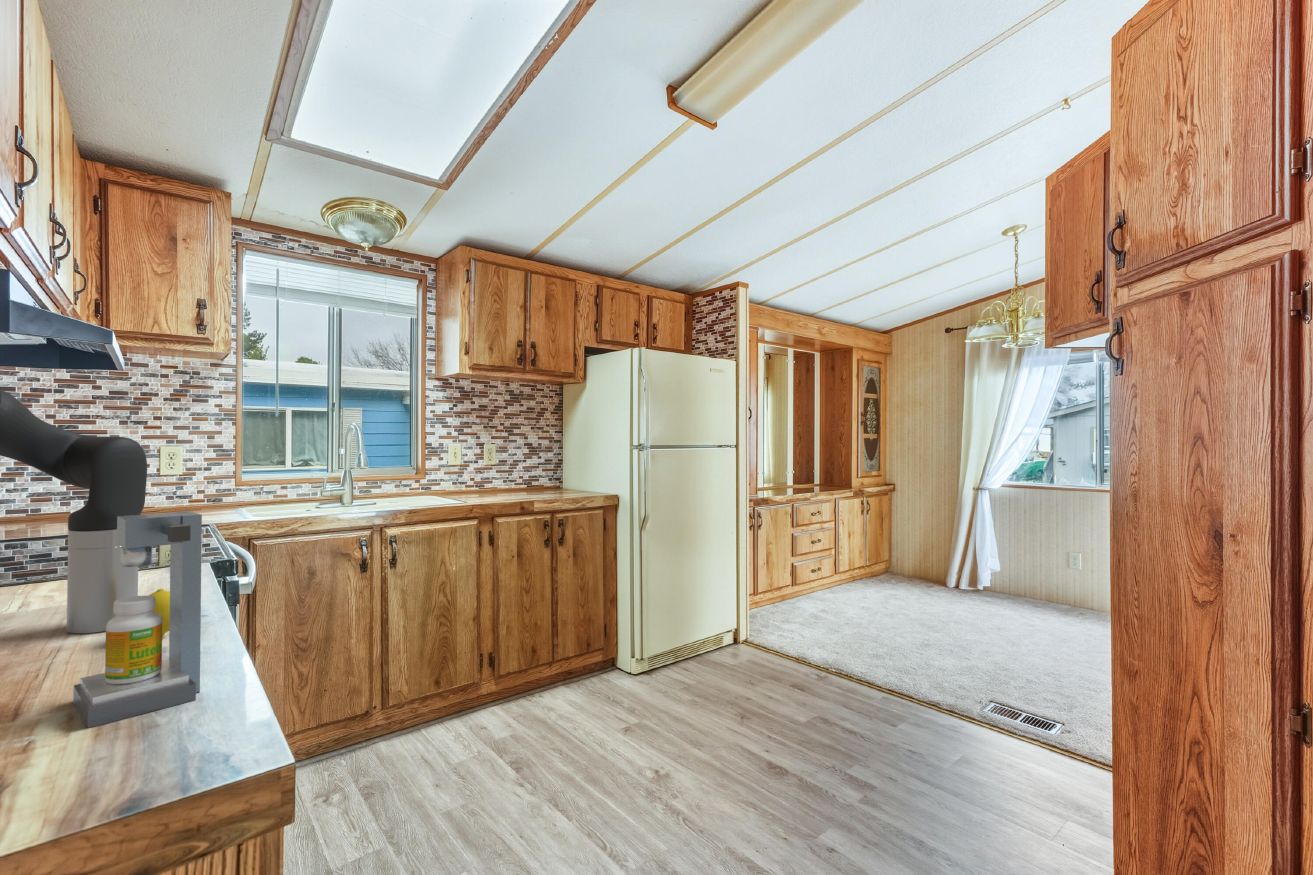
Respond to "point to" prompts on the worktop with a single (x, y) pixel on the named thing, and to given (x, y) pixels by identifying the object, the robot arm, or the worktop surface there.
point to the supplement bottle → (133, 641)
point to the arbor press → (183, 665)
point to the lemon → (162, 607)
